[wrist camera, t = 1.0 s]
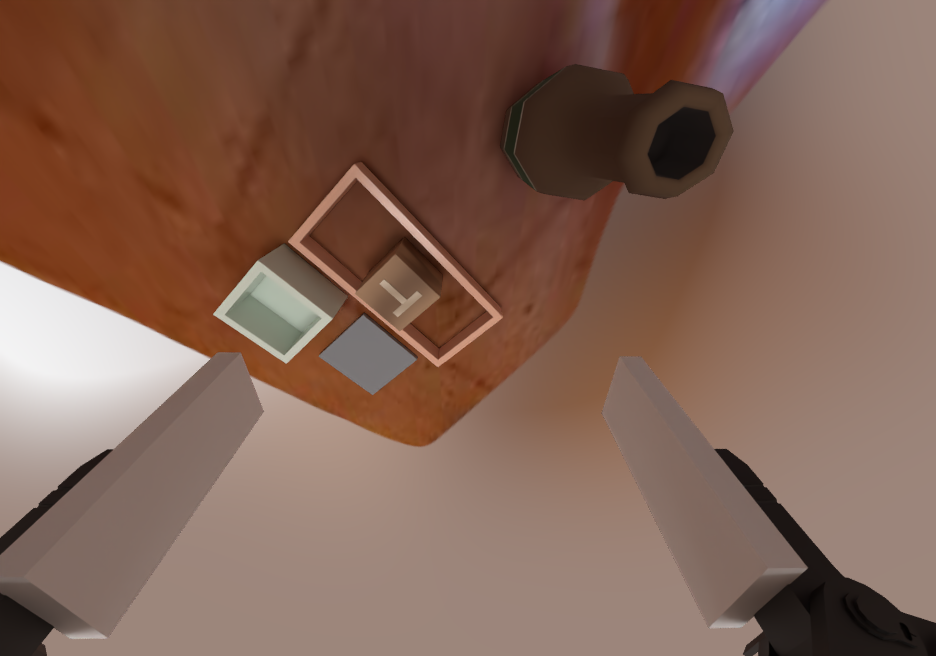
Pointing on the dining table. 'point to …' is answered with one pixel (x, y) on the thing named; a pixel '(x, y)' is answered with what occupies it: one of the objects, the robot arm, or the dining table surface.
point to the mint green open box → (281, 303)
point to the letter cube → (401, 285)
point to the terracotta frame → (387, 199)
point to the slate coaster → (368, 354)
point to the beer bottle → (614, 135)
